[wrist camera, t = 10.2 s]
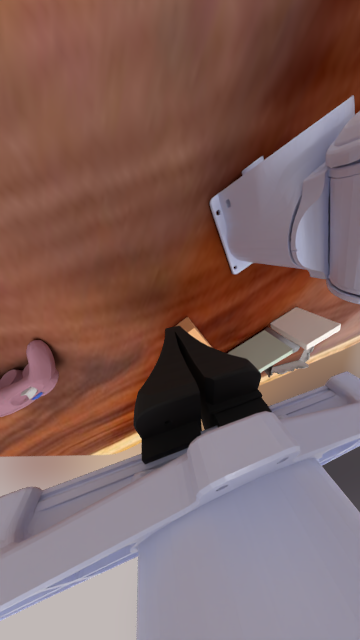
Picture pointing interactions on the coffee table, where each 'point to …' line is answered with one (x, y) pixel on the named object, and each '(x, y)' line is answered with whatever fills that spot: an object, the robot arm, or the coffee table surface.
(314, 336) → the door frame
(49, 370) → the pink elongated piece
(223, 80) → the coffee table surface
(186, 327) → the stepped wooden block
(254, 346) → the door
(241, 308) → the coffee table surface
